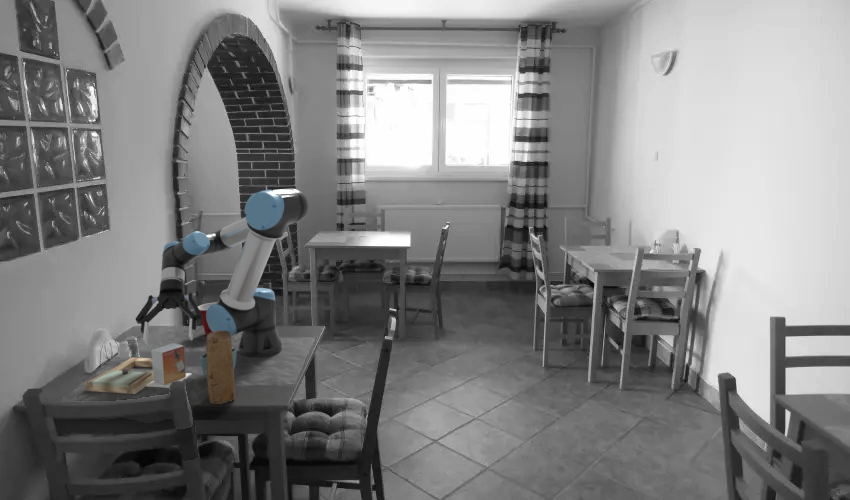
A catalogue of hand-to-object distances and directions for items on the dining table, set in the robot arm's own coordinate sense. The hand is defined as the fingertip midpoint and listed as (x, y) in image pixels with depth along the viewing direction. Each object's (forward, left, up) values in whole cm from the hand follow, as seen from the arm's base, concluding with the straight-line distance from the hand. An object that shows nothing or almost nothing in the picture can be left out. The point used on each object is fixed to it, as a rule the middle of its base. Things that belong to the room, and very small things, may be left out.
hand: (168, 340), depth 187 cm
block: (-25, +15, -12) cm, 31 cm away
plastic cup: (+6, -40, -12) cm, 42 cm away
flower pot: (-18, +2, -12) cm, 22 cm away
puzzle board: (+10, +4, -12) cm, 16 cm away
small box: (-3, +5, -11) cm, 13 cm away
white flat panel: (-2, +5, -12) cm, 13 cm away
